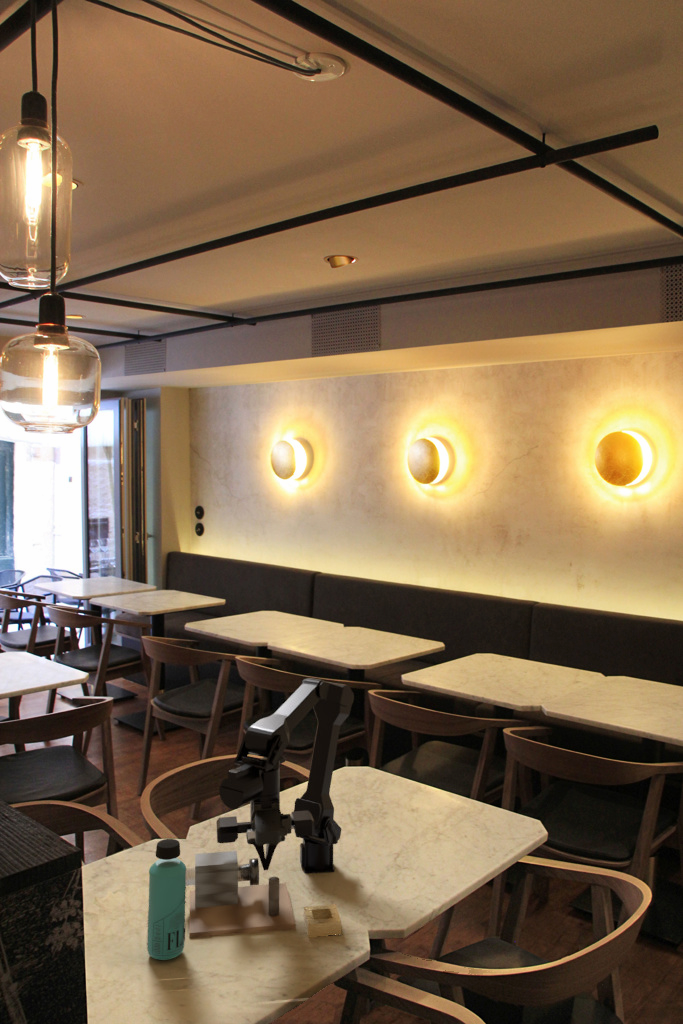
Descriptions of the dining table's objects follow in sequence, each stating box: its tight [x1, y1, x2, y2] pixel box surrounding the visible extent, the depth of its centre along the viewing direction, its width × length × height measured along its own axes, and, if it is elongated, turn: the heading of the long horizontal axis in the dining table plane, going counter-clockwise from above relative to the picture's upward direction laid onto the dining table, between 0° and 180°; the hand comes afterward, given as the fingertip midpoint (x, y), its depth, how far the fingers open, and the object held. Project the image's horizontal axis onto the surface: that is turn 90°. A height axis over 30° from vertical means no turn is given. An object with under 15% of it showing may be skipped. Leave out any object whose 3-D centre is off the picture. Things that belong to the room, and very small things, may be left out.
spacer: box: [303, 904, 342, 938], centre depth 146 cm, size 6×6×2 cm
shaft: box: [185, 857, 260, 887], centre depth 153 cm, size 15×5×5 cm, turn 100°
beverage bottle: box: [145, 838, 187, 961], centre depth 136 cm, size 6×7×20 cm
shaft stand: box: [188, 850, 296, 938], centre depth 151 cm, size 19×15×9 cm
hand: (265, 869), depth 155 cm, fingers closed
